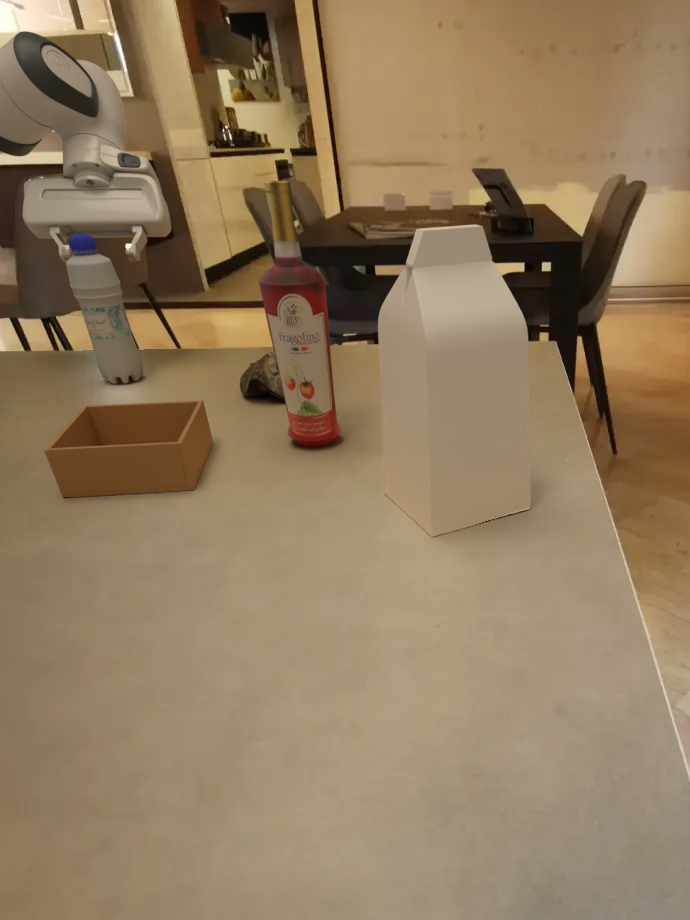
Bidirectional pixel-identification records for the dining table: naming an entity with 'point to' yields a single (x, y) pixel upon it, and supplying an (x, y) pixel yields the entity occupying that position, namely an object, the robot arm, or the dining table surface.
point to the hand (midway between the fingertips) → (100, 259)
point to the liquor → (299, 328)
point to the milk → (454, 385)
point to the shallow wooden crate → (131, 449)
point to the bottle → (103, 310)
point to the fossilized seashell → (262, 378)
